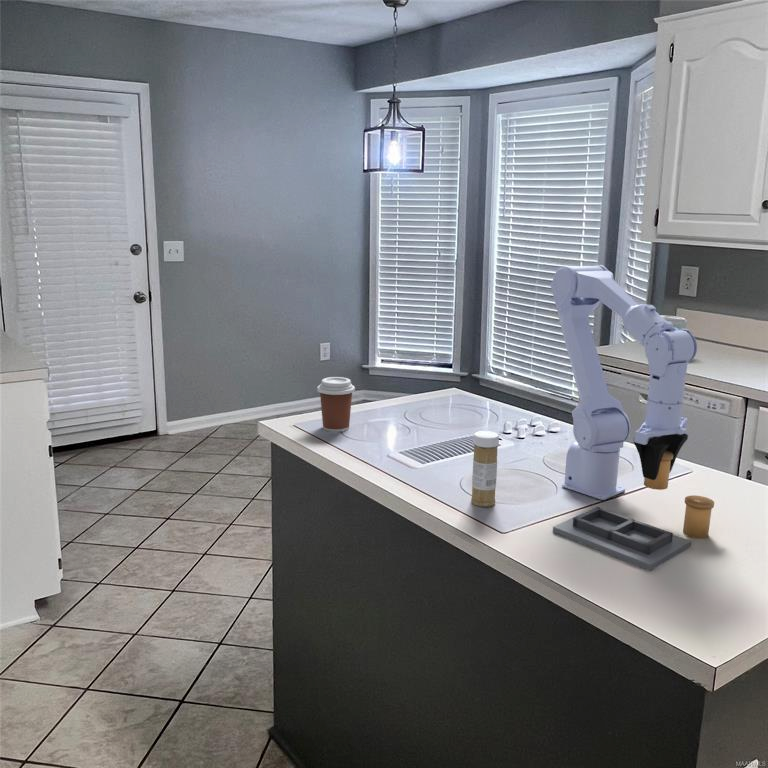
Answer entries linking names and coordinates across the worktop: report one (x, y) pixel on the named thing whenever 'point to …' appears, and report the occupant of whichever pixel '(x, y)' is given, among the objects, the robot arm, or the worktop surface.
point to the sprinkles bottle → (484, 468)
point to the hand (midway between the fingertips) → (656, 474)
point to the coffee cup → (336, 403)
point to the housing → (623, 537)
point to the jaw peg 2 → (697, 516)
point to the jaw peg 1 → (661, 473)
